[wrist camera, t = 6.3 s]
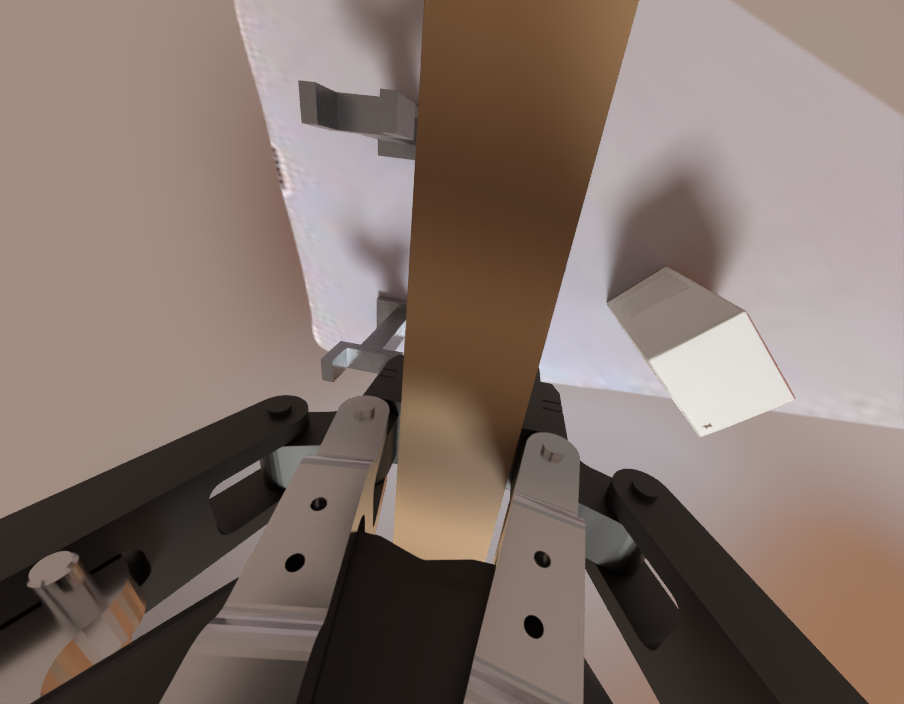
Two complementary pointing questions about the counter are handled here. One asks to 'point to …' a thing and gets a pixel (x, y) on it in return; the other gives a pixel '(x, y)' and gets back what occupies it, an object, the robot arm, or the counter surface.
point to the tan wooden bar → (491, 242)
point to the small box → (701, 350)
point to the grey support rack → (396, 138)
